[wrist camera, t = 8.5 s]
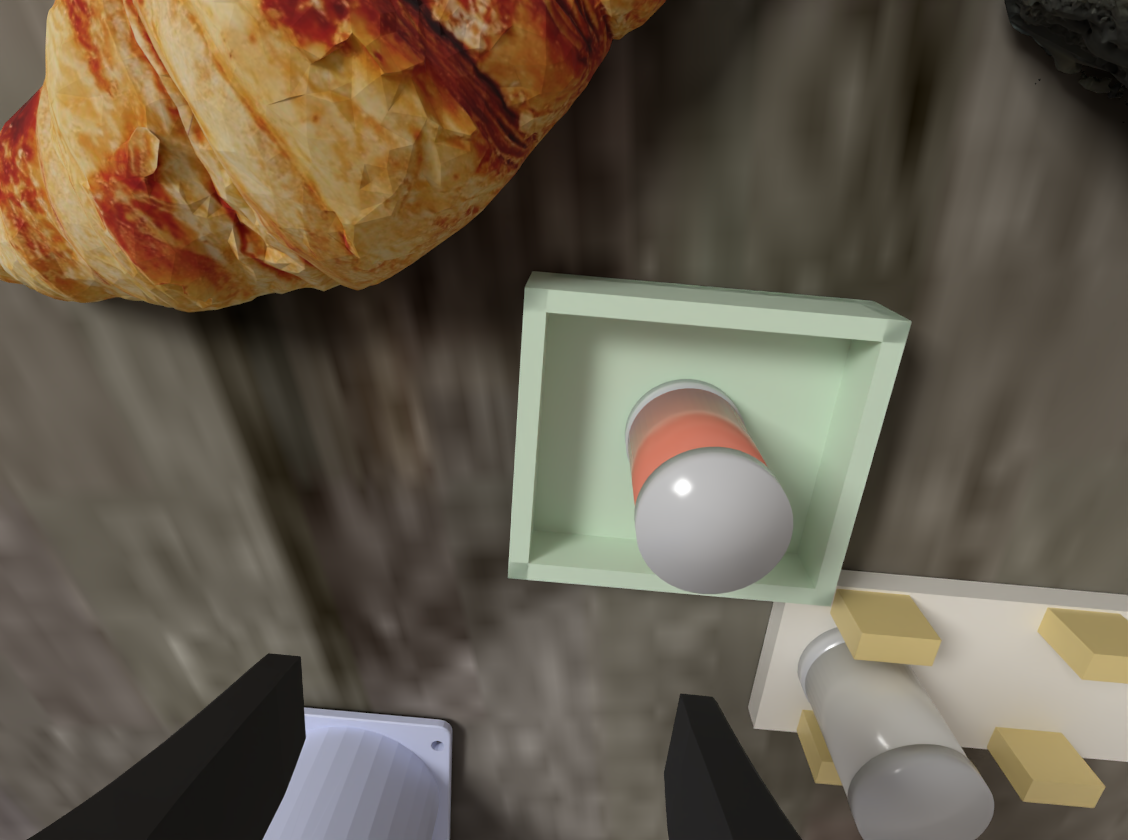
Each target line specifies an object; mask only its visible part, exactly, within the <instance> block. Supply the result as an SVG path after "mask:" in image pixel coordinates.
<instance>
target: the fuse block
mask: <svg viewBox="0 0 1128 840" xmlns="http://www.w3.org/2000/svg"><path fill="white" fill-rule="evenodd" d="M836 627H837V628H838V630H839V631H840V633H841V635H842V637H843V639H844V641H845V643H846V645H847V647H848V649H849V651H850V653H851V655H852V657H853V658H854V659H855V660H866V661H877V662H889V663H900V664H911V667H912V669H913V671H914V672H915V674H916V675H917V677H918V679H919V680H920V682H921V684H922V685H923V687H924V688H925V690H926V692H927V693H928V695H929V696H930V698H931V700H932V701H933V703H934V704H935V706H936V708H937V709H938V711H939V712H940V714H941V716H942V717H943V719H944V721H945V722H946V724H947V725H948V727H949V729H950V730H951V732H952V733H953V735H954V737H955V738H956V740H957V741H958V743H959V745H960V746H961V747H967V748H978V749H988V750H989V752H990V753H991V755H992V756H993V758H994V759H995V761H996V762H997V764H998V765H999V767H1000V768H1001V770H1002V771H1003V773H1004V774H1005V776H1006V777H1007V779H1008V780H1009V782H1010V783H1011V785H1012V786H1013V788H1014V789H1015V791H1016V792H1017V794H1018V795H1019V797H1020V798H1021V800H1022V801H1023V802H1033V803H1044V804H1055V805H1066V806H1077V807H1088V808H1094V807H1095V805H1096V803H1097V802H1098V800H1099V798H1100V796H1101V794H1102V792H1103V791H1104V789H1105V786H1104V784H1103V783H1102V782H1101V781H1100V779H1099V778H1098V777H1097V776H1096V774H1095V773H1094V772H1093V771H1092V769H1091V768H1090V767H1089V766H1088V765H1087V763H1086V762H1085V761H1084V760H1083V758H1090V759H1101V760H1113V761H1124V762H1128V595H1122V594H1111V593H1099V592H1088V591H1077V590H1065V589H1054V588H1043V587H1032V586H1020V585H1009V584H998V583H986V582H975V581H964V580H953V579H941V578H930V577H919V576H907V575H896V574H885V573H874V572H862V571H851V570H841V572H840V575H839V579H838V582H837V586H836V589H835V593H834V596H833V600H832V603H831V607H829V606H818V605H807V604H795V603H784V602H774V603H773V607H772V611H771V615H770V619H769V623H768V627H767V631H766V635H765V639H764V644H763V648H762V652H761V656H760V660H759V664H758V668H757V672H756V676H755V680H754V685H753V689H752V693H751V697H750V701H749V705H748V709H749V713H750V716H751V720H752V723H753V727H754V729H765V730H777V731H788V732H797V733H798V736H799V739H800V741H801V744H802V747H803V750H804V753H805V755H806V758H807V761H808V764H809V767H810V769H811V772H812V775H813V778H814V781H815V783H820V784H831V785H842V783H841V780H840V778H839V775H838V773H837V770H836V768H835V765H834V763H833V760H832V758H831V755H830V753H829V750H828V747H827V745H826V742H825V740H824V737H823V735H822V732H821V730H820V727H819V725H818V722H817V720H816V717H815V715H814V712H813V710H812V707H811V705H810V703H809V702H808V700H807V698H806V696H805V694H804V691H803V689H802V686H801V683H800V681H799V678H798V672H797V670H798V662H799V659H800V656H801V654H802V652H803V651H804V649H805V648H806V647H807V645H808V644H809V643H810V642H811V641H812V640H814V639H815V638H816V637H818V636H819V635H821V634H822V633H824V632H826V631H828V630H831V629H833V628H836Z"/></svg>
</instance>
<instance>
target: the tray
mask: <svg viewBox="0 0 1128 840" xmlns="http://www.w3.org/2000/svg"><path fill="white" fill-rule="evenodd" d="M911 322H912V321H910V320H908V319H906V318H905V317H903V316H901V315H899V314H897V313H895V312H893V311H891V310H890V309H888V308H886V307H884V306H882V305H880V304H878V303H876V302H874V301H869V300H858V299H846V298H835V297H823V296H812V295H801V294H789V293H778V292H766V291H755V290H743V289H732V288H721V287H709V286H698V285H686V284H675V283H664V282H652V281H641V280H629V279H618V278H606V277H595V276H584V275H572V274H561V273H549V272H538V271H532V273H531V275H530V277H529V279H528V282H527V284H526V286H525V291H524V309H523V326H522V343H521V360H520V377H519V395H518V412H517V429H516V446H515V464H514V481H513V498H512V515H511V532H510V550H509V567H508V578H514V579H525V580H536V581H547V582H559V583H570V584H581V585H593V586H604V587H615V588H626V589H638V590H649V591H660V592H671V593H683V594H694V595H705V596H716V597H728V598H739V599H750V600H761V601H773V602H784V603H795V604H807V605H818V606H829V607H831V603H832V600H833V596H834V593H835V589H836V586H837V582H838V579H839V575H840V572H841V568H842V565H843V561H844V558H845V554H846V551H847V547H848V544H849V540H850V536H851V533H852V529H853V526H854V522H855V519H856V515H857V512H858V508H859V505H860V501H861V498H862V494H863V491H864V487H865V484H866V480H867V477H868V473H869V470H870V466H871V463H872V459H873V456H874V452H875V449H876V445H877V442H878V438H879V435H880V431H881V428H882V424H883V421H884V417H885V414H886V410H887V407H888V403H889V399H890V396H891V392H892V389H893V385H894V382H895V378H896V375H897V371H898V368H899V364H900V361H901V357H902V354H903V350H904V347H905V343H906V340H907V336H908V333H909V329H910V326H911ZM678 379H694V380H700V381H704V382H707V383H710V384H712V385H714V386H716V387H718V388H719V389H721V390H722V391H723V392H725V393H726V394H727V395H728V396H729V397H730V398H731V400H732V401H733V402H734V404H735V405H736V407H737V409H738V411H739V413H740V414H741V416H742V418H743V421H744V424H745V427H746V429H747V431H748V432H749V434H750V436H751V438H752V440H753V441H754V443H755V445H756V447H757V449H758V450H759V452H760V454H761V456H762V458H763V459H764V461H765V463H766V465H767V467H768V468H769V469H770V470H771V471H772V473H773V474H774V476H775V477H776V478H777V480H778V482H779V484H780V485H781V487H782V489H783V491H784V492H785V494H786V496H787V498H788V500H789V503H790V506H791V509H792V514H793V532H792V537H791V540H790V544H789V546H788V548H787V550H786V552H785V554H784V556H783V557H782V559H781V560H780V561H779V563H778V564H777V565H776V566H775V567H774V568H773V569H772V570H771V571H770V572H769V573H768V574H767V575H765V576H764V577H763V578H761V579H760V580H758V581H757V582H755V583H753V584H751V585H749V586H747V587H745V588H742V589H739V590H736V591H732V592H727V593H722V594H699V593H692V592H688V591H684V590H681V589H679V588H676V587H674V586H672V585H670V584H668V583H666V582H665V581H663V580H662V579H660V578H659V577H658V576H657V575H656V574H655V573H654V572H653V571H652V570H651V569H650V568H649V567H648V566H647V564H646V562H645V561H644V559H643V558H642V555H641V553H640V551H639V547H638V544H637V538H636V529H635V521H634V510H635V504H634V496H633V487H632V479H631V471H630V463H629V460H628V456H627V452H626V443H625V427H626V422H627V419H628V416H629V414H630V412H631V410H632V408H633V407H634V405H635V404H636V403H637V401H638V400H639V399H640V398H641V397H642V396H643V395H644V394H645V393H647V392H648V391H649V390H651V389H652V388H654V387H656V386H658V385H660V384H663V383H665V382H668V381H672V380H678Z"/></svg>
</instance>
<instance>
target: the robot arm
mask: <svg viewBox="0 0 1128 840" xmlns="http://www.w3.org/2000/svg"><path fill="white" fill-rule="evenodd" d="M436 741H440V742H441V743H439V742H436ZM451 772H452V727H451V725H450V724H449V723H448V722H446V721H444V720H439V719H428V718H417V717H406V716H395V715H383V714H372V713H361V712H350V711H339V710H327V709H316V708H305V707H304V700H303V685H302V669H301V657H300V656H290V655H279V654H267V655H266V656H265V657H263V658H262V659H261V660H260V661H259V662H257V663H256V664H255V665H254V666H253V667H252V668H250V669H249V670H248V671H247V672H246V673H245V674H244V675H242V676H241V677H240V678H239V679H238V680H237V681H236V682H234V683H233V684H232V685H231V686H230V687H229V688H228V689H226V690H225V691H224V692H223V693H222V694H221V695H219V696H218V697H217V698H216V699H215V700H214V701H213V702H211V703H210V704H209V705H208V706H207V707H206V708H204V709H203V710H202V711H201V712H200V713H198V714H197V715H196V716H195V717H194V718H192V719H191V720H190V721H189V722H188V723H186V724H185V725H184V726H183V727H182V728H180V729H179V730H178V731H177V732H176V733H174V734H173V735H172V736H171V737H170V738H168V739H167V740H166V741H165V742H163V743H162V744H161V745H160V746H158V747H157V748H156V749H154V750H153V751H152V752H151V753H149V754H148V755H147V756H145V757H144V758H143V759H141V760H140V761H139V762H138V763H136V764H135V765H134V766H132V767H131V768H130V769H128V770H127V771H126V772H125V773H123V774H122V775H121V776H119V777H118V778H117V779H115V780H114V781H113V782H111V783H110V784H109V785H107V786H106V787H104V788H103V789H102V790H100V791H99V792H97V793H96V794H95V795H93V796H92V797H91V798H89V799H88V800H86V801H85V802H83V803H82V804H81V805H79V806H78V807H76V808H75V809H73V810H72V811H70V812H69V813H67V814H66V815H64V816H63V817H61V818H60V819H58V820H57V821H55V822H54V823H52V824H51V825H49V826H48V827H46V828H45V829H43V830H42V831H40V832H39V833H37V834H35V835H34V836H32V837H30V838H29V839H27V840H450V817H451ZM664 781H665V798H666V813H667V827H668V836H669V840H802V839H801V837H800V836H799V835H798V833H797V832H796V830H795V829H794V828H793V826H792V825H791V823H790V822H789V820H788V819H787V817H786V816H785V814H784V813H783V812H782V810H781V809H780V807H779V806H778V804H777V802H776V801H775V799H774V798H773V796H772V795H771V793H770V792H769V790H768V788H767V787H766V785H765V784H764V782H763V781H762V779H761V778H760V776H759V774H758V773H757V771H756V770H755V768H754V766H753V765H752V763H751V761H750V760H749V758H748V756H747V755H746V753H745V751H744V750H743V748H742V746H741V744H740V743H739V741H738V739H737V738H736V736H735V734H734V732H733V731H732V729H731V727H730V725H729V723H728V722H727V720H726V718H725V716H724V714H723V712H722V711H721V709H720V707H719V705H718V703H717V702H716V700H715V699H714V698H713V697H709V696H699V695H689V694H680V698H679V703H678V708H677V713H676V717H675V722H674V727H673V732H672V737H671V742H670V746H669V751H668V756H667V761H666V766H665V771H664Z"/></svg>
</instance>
